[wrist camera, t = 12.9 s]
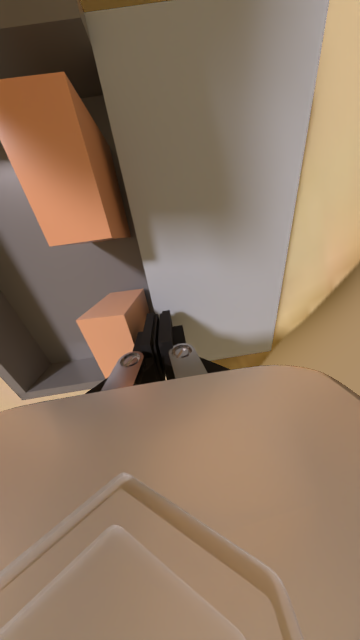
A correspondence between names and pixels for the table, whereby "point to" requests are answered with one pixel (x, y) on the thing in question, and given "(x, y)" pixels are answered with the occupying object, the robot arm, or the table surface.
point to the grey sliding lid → (211, 152)
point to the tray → (27, 236)
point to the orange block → (61, 160)
